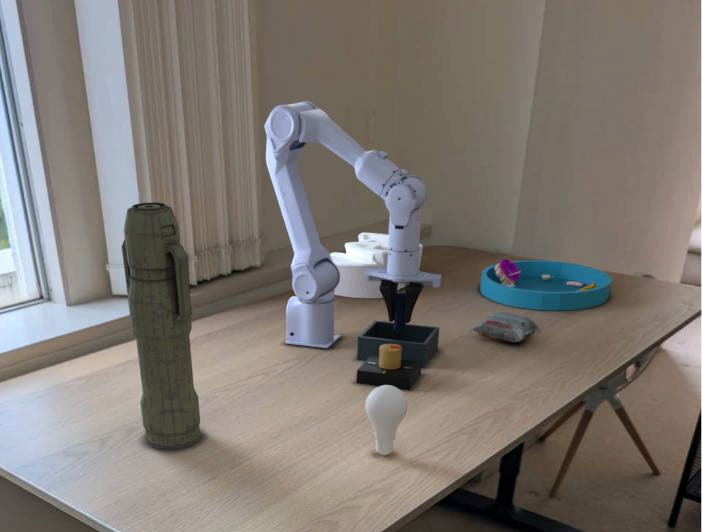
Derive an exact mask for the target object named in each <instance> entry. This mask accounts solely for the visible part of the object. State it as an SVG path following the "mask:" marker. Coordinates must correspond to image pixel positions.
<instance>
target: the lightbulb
mask: <svg viewBox="0 0 702 532" xmlns="http://www.w3.org/2000/svg"><path fill="white" fill-rule="evenodd" d="M407 411H408V400H407V397H406V395H405V393H404V392H403V391H402V389H398V388H396V387H394V386H391V385H383V386H376V387H375V388H374V389H372V391H371V392H369V394H368V395H367V398H366V400H365V412H366V415H367V417H368V420H369V421H370V423H371V426H372V428H373V436H374V440H375V451H376V453H377V454H380V455H381V456H387V455H389V454H391V453H392V452H393V450H394V449H393V448H394V441H395V440H396V435H397V431H398V428H399V426H400V424H401V423H402V421H403V419H405V416H406V414H407Z"/></svg>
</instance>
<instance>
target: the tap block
mask: <svg viewBox="0 0 702 532" xmlns="http://www.w3.org/2000/svg"><path fill="white" fill-rule="evenodd" d="M421 367H422V362H417V361H408V360H401V367H400V368H398V369H393V370H388V369H383V368H380V367H379V357H376V356H370V357H369V358H368V359H367V360H366V361H363V363H362V364H361V365H360V366H359V367H358V368H357V369H356V384H362V385H368V386H374V387H375V386H376V387H379V386H383V385H391V386H394V387H396V388H398V389H399V390H406V391H411V389H412V388H413V386H414V385H415V383H416V382H417V381H418V380H419V378H420V377H421V375H422V368H421Z"/></svg>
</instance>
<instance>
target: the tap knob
mask: <svg viewBox="0 0 702 532" xmlns="http://www.w3.org/2000/svg"><path fill="white" fill-rule="evenodd" d="M401 353H402V346H400V345H397V344H383V345H381V346H380V348H379V367H380V368H383V369H388V370H393V369H398V368H400V367H401Z"/></svg>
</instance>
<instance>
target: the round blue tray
mask: <svg viewBox="0 0 702 532" xmlns="http://www.w3.org/2000/svg"><path fill="white" fill-rule="evenodd" d="M612 282H613V281H612V277H611V276H610V274H607V273H606V272H605V271H603V270H600V269H597V268H594V267H592V266H587V265H583V264H580V263H572V262H566V261H556V260H537V259H536V260H535V259H534V260H531V259H529V260H514V261H513V260H512V261H511V260H509V259H507V258H503V259H502V260H501V261H500V262H499V263H495V264H492V265H489V266H487V267H485V268H484V269H483V270H481V275H480V286H479V290H480V293H481V294H482V295H483V296H484V297H485V298H487V299H489V300H491V301H493V302H496V303H500V304H502V305H506V306H510V307H516V308H520V309H521V308H522V309H528V310H537V311H538V310H540V311H576V310H583V309H589V308H593V307H596V306H600V305H602V304H604V303H605V302H607V301H608V299H609V296H610V292H611V286H612Z"/></svg>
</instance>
